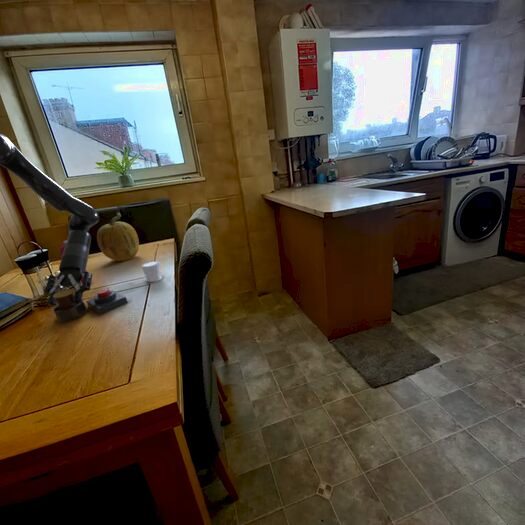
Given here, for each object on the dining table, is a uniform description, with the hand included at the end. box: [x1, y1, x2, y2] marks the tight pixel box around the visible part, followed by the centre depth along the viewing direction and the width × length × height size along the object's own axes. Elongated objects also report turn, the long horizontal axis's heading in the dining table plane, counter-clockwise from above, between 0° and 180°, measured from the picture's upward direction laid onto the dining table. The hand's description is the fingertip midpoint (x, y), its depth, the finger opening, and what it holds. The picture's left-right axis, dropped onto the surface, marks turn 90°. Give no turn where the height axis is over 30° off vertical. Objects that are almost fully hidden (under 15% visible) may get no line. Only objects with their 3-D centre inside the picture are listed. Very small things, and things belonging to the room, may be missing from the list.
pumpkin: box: [96, 212, 140, 262], centre depth 145 cm, size 19×19×25 cm
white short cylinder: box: [141, 260, 162, 283], centre depth 114 cm, size 7×7×7 cm
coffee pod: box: [53, 288, 78, 310], centre depth 91 cm, size 6×6×8 cm
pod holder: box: [52, 299, 88, 323], centre depth 92 cm, size 8×8×4 cm
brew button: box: [97, 288, 110, 298], centre depth 96 cm, size 4×4×2 cm
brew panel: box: [86, 289, 129, 315], centre depth 97 cm, size 9×11×4 cm
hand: (64, 304), depth 90 cm, fingers open, 7 cm apart
